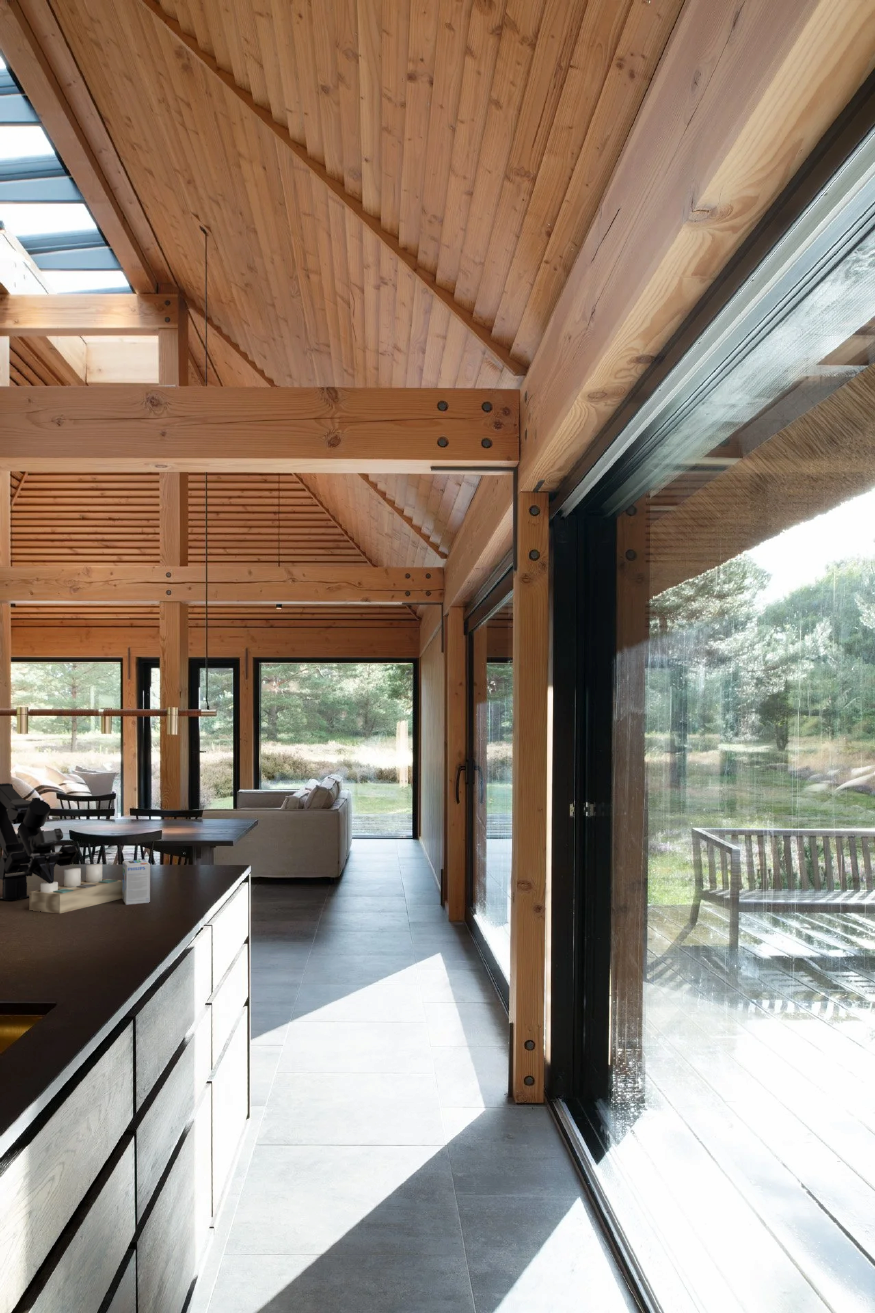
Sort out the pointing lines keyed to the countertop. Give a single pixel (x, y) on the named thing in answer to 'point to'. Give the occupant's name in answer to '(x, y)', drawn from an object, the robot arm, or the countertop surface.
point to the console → (75, 896)
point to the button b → (72, 877)
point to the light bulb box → (136, 882)
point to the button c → (93, 873)
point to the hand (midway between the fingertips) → (51, 882)
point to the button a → (49, 887)
